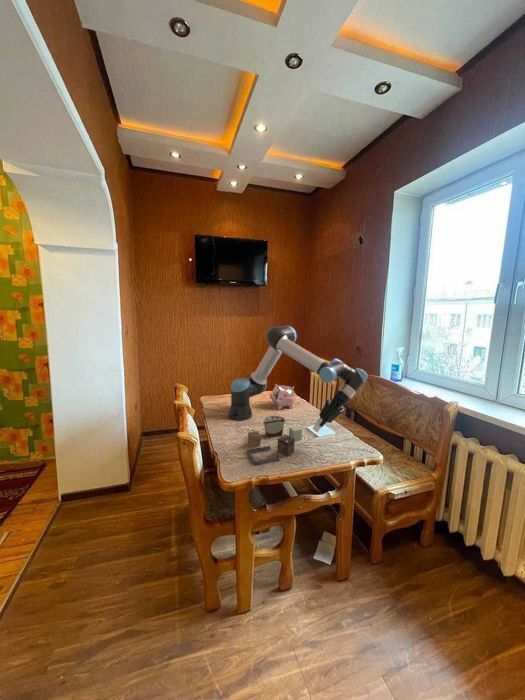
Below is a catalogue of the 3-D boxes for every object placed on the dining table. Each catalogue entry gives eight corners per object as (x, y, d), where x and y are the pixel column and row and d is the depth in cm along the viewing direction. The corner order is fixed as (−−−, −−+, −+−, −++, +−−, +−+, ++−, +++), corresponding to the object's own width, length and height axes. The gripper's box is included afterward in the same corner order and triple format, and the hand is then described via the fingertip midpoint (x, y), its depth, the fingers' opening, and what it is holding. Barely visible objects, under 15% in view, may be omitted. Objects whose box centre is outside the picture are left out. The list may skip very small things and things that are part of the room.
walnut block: (247, 443, 142) (248, 432, 141) (256, 441, 143) (257, 430, 142) (251, 447, 137) (251, 436, 136) (260, 446, 139) (260, 435, 138)
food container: (279, 431, 156) (280, 414, 155) (284, 435, 151) (285, 418, 149) (259, 434, 152) (260, 416, 150) (263, 439, 146) (264, 421, 145)
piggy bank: (266, 403, 200) (267, 382, 197) (290, 402, 205) (290, 381, 202) (273, 411, 185) (273, 388, 183) (298, 409, 190) (299, 387, 188)
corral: (246, 452, 132) (246, 449, 132) (269, 448, 137) (269, 445, 136) (254, 465, 122) (254, 462, 121) (279, 460, 126) (279, 457, 126)
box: (284, 448, 138) (284, 434, 137) (294, 452, 134) (295, 438, 133) (276, 452, 133) (277, 438, 132) (287, 457, 129) (287, 442, 128)
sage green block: (288, 437, 149) (289, 427, 148) (297, 436, 151) (297, 425, 150) (293, 441, 144) (293, 430, 144) (301, 440, 146) (302, 429, 145)
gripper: (357, 403, 136) (326, 440, 132) (340, 395, 148) (312, 429, 144) (349, 393, 133) (317, 431, 129) (332, 386, 145) (303, 420, 141)
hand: (314, 430), depth 137 cm, fingers closed
